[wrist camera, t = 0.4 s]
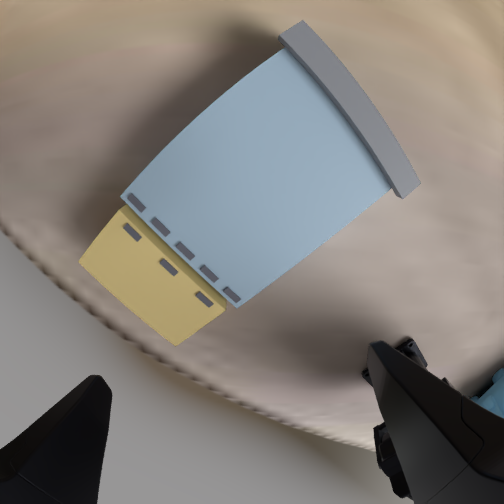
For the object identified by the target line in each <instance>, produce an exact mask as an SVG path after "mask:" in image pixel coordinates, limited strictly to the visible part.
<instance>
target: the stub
mask: <svg viewBox="0 0 504 504" xmlns="http://www.w3.org/2000/svg"><path fill="white" fill-rule="evenodd" d="M78 262H79V263H80V264H81V265H82V266H83V267H84V268H85V269H86V270H87V271H88V272H89V273H90V274H91V275H92V276H93V277H94V278H95V279H96V280H97V281H99V282H100V283H101V284H102V285H103V286H104V287H105V288H106V289H107V290H108V291H109V292H110V293H112V294H113V295H114V296H115V297H116V298H117V299H118V300H119V301H120V302H122V303H123V304H124V305H125V306H126V307H127V308H129V309H130V310H131V311H132V312H133V313H134V314H136V315H137V316H138V317H139V318H140V319H142V320H143V321H144V322H145V323H146V324H148V325H149V326H150V327H151V328H153V329H154V330H155V331H156V332H158V333H159V334H160V335H161V336H163V337H164V338H165V339H166V340H168V341H169V342H170V343H172V344H173V345H174V346H177V345H178V344H180V343H181V342H183V341H184V340H186V339H187V338H188V337H190V336H191V335H193V334H194V333H195V332H197V331H198V330H199V329H201V328H202V327H204V326H205V325H206V324H208V323H209V322H211V321H212V320H213V319H215V318H216V317H217V316H219V315H220V314H221V313H223V312H224V311H226V301H227V299H226V298H225V297H224V296H222V295H221V294H220V293H219V292H218V291H217V290H216V289H215V288H214V287H213V286H211V285H210V284H209V283H208V282H207V281H206V280H205V279H204V278H203V277H202V276H201V275H199V274H198V273H197V272H196V271H195V270H194V269H193V268H192V267H191V266H190V265H189V264H188V263H187V262H186V261H185V260H184V259H182V258H181V257H180V256H179V255H178V254H177V253H176V252H175V251H174V250H173V249H172V248H171V247H170V246H169V245H168V244H167V243H166V242H165V241H164V240H163V239H162V238H161V237H160V236H159V235H158V234H157V233H156V232H155V231H154V230H153V229H151V228H150V227H149V226H148V225H147V224H146V223H145V222H144V221H143V220H142V219H141V218H140V217H139V216H138V215H137V214H136V213H135V211H134V210H133V209H132V208H131V207H130V206H129V205H128V204H126V205H124V206H123V207H122V208H121V209H119V210H118V212H117V213H116V214H115V215H114V216H113V217H112V219H111V220H110V221H109V222H108V224H107V225H106V226H105V227H104V228H103V230H102V231H101V232H100V233H99V235H98V236H97V237H96V239H95V240H94V241H93V242H92V244H91V245H90V246H89V248H88V249H87V250H86V252H85V253H84V254H83V256H82V257H81V258H80V260H79V261H78Z"/></svg>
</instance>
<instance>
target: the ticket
mask: <svg viewBox="0 0 504 504" xmlns="http://www.w3.org/2000/svg"><path fill="white" fill-rule="evenodd" d="M278 40H279V41H280V42H281V43H282V44H283V45H284V47H285V48H283V49H282V50H280V51H279V52H277V53H276V54H274V55H273V56H272V57H270V58H269V59H267V60H266V61H265V62H263V63H262V64H261V65H259V66H258V67H257V68H255V69H254V70H253V71H251V72H250V73H249V74H247V75H246V76H245V77H244V78H242V79H241V80H240V81H239V82H237V83H236V84H235V85H234V86H232V87H231V88H230V89H229V90H227V91H226V92H225V93H224V94H223V95H221V96H220V97H219V98H218V99H217V100H216V101H214V102H213V103H212V104H211V105H210V106H209V107H207V108H206V109H205V110H204V111H203V112H202V113H201V114H200V115H199V116H197V117H196V118H195V119H194V120H193V121H192V122H191V123H190V124H189V125H188V126H187V127H186V128H184V129H183V130H182V131H181V132H180V133H179V134H178V135H177V136H176V137H175V138H174V139H173V140H172V141H171V142H170V143H169V144H168V145H167V146H166V147H165V148H164V149H163V150H162V151H161V152H160V153H159V154H158V155H157V156H156V157H155V158H154V159H153V160H152V161H151V162H150V164H149V165H148V166H147V167H146V168H145V169H144V170H143V171H142V172H141V173H140V174H139V175H138V177H137V178H136V179H135V180H134V181H133V182H132V183H131V184H130V186H129V187H128V188H127V189H126V190H125V191H124V192H123V194H122V195H121V196H120V197H121V198H122V199H123V200H124V201H125V202H126V203H127V204H128V205H129V206H130V207H131V208H132V209H133V210H134V211H135V213H136V214H137V215H138V216H139V217H140V218H141V219H142V220H143V221H144V222H145V223H146V224H147V225H148V226H149V227H150V228H151V229H153V230H154V231H155V232H156V233H157V234H158V235H159V236H160V237H161V238H162V239H163V240H164V241H165V242H166V243H167V244H168V245H169V246H170V247H171V248H172V249H173V250H174V251H175V252H176V253H177V254H178V255H179V256H180V257H181V258H182V259H184V260H185V261H186V262H187V263H188V264H189V265H190V266H191V267H192V268H193V269H194V270H195V271H196V272H197V273H198V274H199V275H201V276H202V277H203V278H204V279H205V280H206V281H207V282H208V283H209V284H210V285H211V286H213V287H214V288H215V289H216V290H217V291H218V292H219V293H220V294H221V295H222V296H224V297H225V298H226V299H227V300H228V301H229V302H230V303H231V304H232V305H234V306H235V307H236V308H238V307H240V306H241V305H243V304H244V303H245V302H247V301H248V300H249V299H251V298H252V297H253V296H255V295H256V294H258V293H259V292H260V291H262V290H263V289H264V288H266V287H267V286H268V285H270V284H271V283H272V282H274V281H275V280H276V279H278V278H279V277H280V276H282V275H283V274H284V273H286V272H287V271H288V270H289V269H291V268H292V267H293V266H295V265H296V264H297V263H299V262H300V261H301V260H303V259H304V258H305V257H306V256H308V255H309V254H310V253H312V252H313V251H314V250H315V249H317V248H318V247H319V246H321V245H322V244H323V243H324V242H326V241H327V240H328V239H330V238H331V237H332V236H333V235H335V234H336V233H337V232H338V231H340V230H341V229H342V228H343V227H345V226H346V225H347V224H348V223H350V222H351V221H352V220H353V219H355V218H356V217H357V216H358V215H360V214H361V213H362V212H363V211H365V210H366V209H367V208H368V207H369V206H371V205H372V204H373V203H374V202H376V201H377V200H378V199H379V198H380V197H382V196H383V195H384V194H385V193H386V192H388V191H389V190H390V189H391V188H392V189H393V191H394V192H395V194H396V196H398V197H400V198H401V199H404V198H405V197H406V196H407V195H408V194H409V193H411V192H412V191H413V190H414V189H415V188H416V187H418V186H419V185H420V184H421V182H420V180H419V178H418V177H417V175H416V173H415V171H414V169H413V167H412V165H411V164H410V162H409V160H408V158H407V156H406V155H405V153H404V151H403V149H402V148H401V146H400V144H399V143H398V141H397V139H396V138H395V136H394V135H393V133H392V131H391V130H390V128H389V127H388V125H387V124H386V122H385V120H384V119H383V117H382V116H381V114H380V113H379V112H378V110H377V109H376V107H375V106H374V104H373V103H372V101H371V100H370V99H369V97H368V96H367V94H366V93H365V92H364V90H363V89H362V88H361V86H360V85H359V84H358V82H357V81H356V80H355V79H354V77H353V76H352V75H351V73H350V72H349V71H348V70H347V68H346V67H345V66H344V65H343V64H342V62H341V61H340V60H339V59H338V58H337V56H336V55H335V54H334V53H333V52H332V51H331V49H330V48H329V47H328V46H327V45H326V44H325V43H324V42H323V41H322V39H321V38H320V37H319V36H318V35H317V34H316V33H315V32H314V31H313V30H312V29H311V28H310V27H309V26H308V25H307V24H306V23H305V22H304V21H303V20H302V21H301V22H299V23H297V24H296V25H294V26H293V27H291V28H289V29H288V30H286V31H285V32H283V33H282V34H280V35H279V37H278Z"/></svg>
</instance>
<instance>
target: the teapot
mask: <svg viewBox="0 0 504 504" xmlns="http://www.w3.org/2000/svg"><path fill="white" fill-rule="evenodd" d="M492 380H493V383H494V385H493V386H492V387H491V388H490V389H489V390H488V391H486V392H485V393H484V394H483V395H482V396H481V397H480V398H478V397H477V396H474V397H472V398H471V399H470V400H472V401H474V402H475V403H477V404H478V405H480V406H481V407H483V408H485V409H487V410H488V411H490V412H492V413H494V414H496V415H498V416H500V417H502V418H504V368H501V369H500V370H498V371H497V372H496V373H495V375H494V376H493V378H492Z"/></svg>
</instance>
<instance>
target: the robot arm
mask: <svg viewBox="0 0 504 504" xmlns="http://www.w3.org/2000/svg"><path fill="white" fill-rule="evenodd" d="M427 365H428V364H427V362H426V361H425V359H424V357H423V355H422V353H421V352H420V350H419V348H418V346H417V345H416V343H415V341H414V340H413V339H409V340H408V341H406V342H405V343H404V344H402V345H401V346H399V347H398V348H397V349H394V348H393V347H392V346H390V345H389V344H387V343H386V342H384V341H382V340H380V341H376V342H372V343H370V344H369V347H368V358H367V366H368V368H367V369H366V370H364V371H363V372H362V376H363V378H364V379H365V380H366V381H367V382H368V383H369V384H370V385H371V386H372V387H373V388H374V391H375V395H376V399H377V402H378V406H379V409H380V412H381V414H382V417H383V419H384V422H383V423H382V424H380V425H377V426H376V427H374V428H373V429H374V440H375V447H376V455H377V462H378V466H379V468H380V469H382V470H383V472H384V473H385V474H386V475H387V476H388V477H389V478H390V481H391V484H392V488H393V492H394V493H395V494H396V495H398V496H399V497H400V498H405V497H408V498H410V499H412V500H413V501H414V504H504V418H502V417H500V416H498V415H496V414H494V413H492V412H490V411H488V410H487V409H485V408H483V407H481V406H480V405H478V404H477V403H475V402H474V401H472V400H470V399H469V398H467V397H466V396H464V395H462V394H461V393H460V392H458V391H457V390H455V389H454V387H453V386H452V385H451V384H450V382H449V381H448V380H447V379H446V378H445V377H444V378H443V379H442V380H441V379H439V378H438V377H436V376H435V375H433V374H432V373H430V372H429V371H428V370H427V369H426V367H427ZM111 403H112V391H111V389H110V388H109V386H108V385H107V383H106V382H105V380H104V379H103V378H102V376H100V375H90V376H88V377H87V378H86V379H85V380H84V381H82V382H81V383H80V384H79V385H78V386H77V387H75V388H74V389H73V390H72V391H71V392H69V393H68V394H67V395H66V396H65V397H63V398H62V399H61V400H60V401H59V402H58V403H56V404H55V405H54V406H53V407H52V408H50V409H49V410H48V411H47V412H46V413H45V414H43V415H42V416H41V417H40V418H39V419H37V420H36V421H35V422H34V423H33V424H32V425H31V426H29V427H28V428H27V429H26V430H25V431H23V432H22V433H21V434H20V435H19V436H17V437H16V438H15V439H14V440H13V441H11V442H10V443H8V444H7V445H6V446H4V447H3V448H1V449H0V504H97V500H98V492H99V484H100V477H101V470H102V464H103V458H104V452H105V447H106V442H107V436H108V430H109V421H110V411H111Z"/></svg>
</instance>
